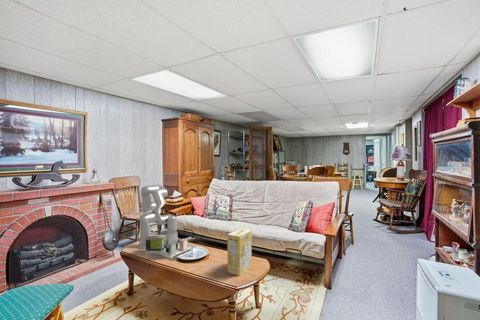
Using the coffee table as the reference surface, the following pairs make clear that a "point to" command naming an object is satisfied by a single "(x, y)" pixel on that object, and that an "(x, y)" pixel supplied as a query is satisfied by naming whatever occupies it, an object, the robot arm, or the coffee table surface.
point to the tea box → (155, 244)
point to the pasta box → (239, 251)
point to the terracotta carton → (183, 244)
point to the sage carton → (172, 249)
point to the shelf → (165, 254)
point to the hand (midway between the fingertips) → (171, 250)
